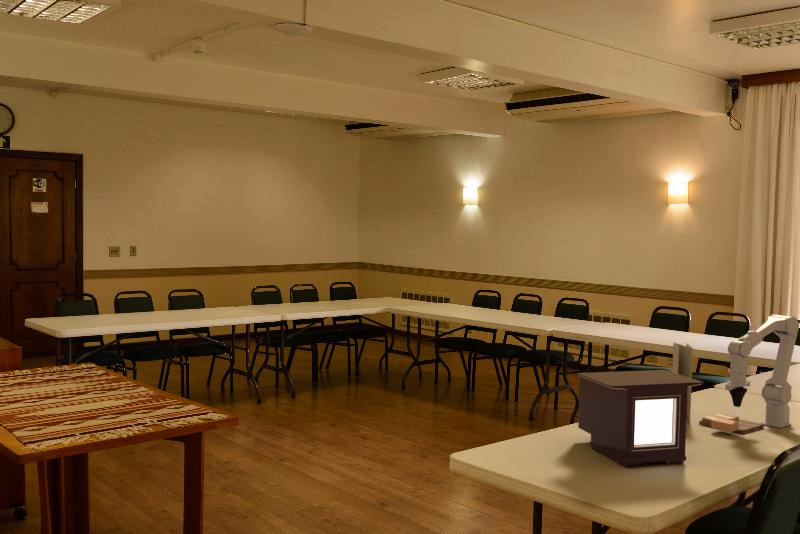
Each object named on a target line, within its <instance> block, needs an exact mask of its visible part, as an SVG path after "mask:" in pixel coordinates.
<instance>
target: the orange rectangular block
mask: <svg viewBox="0 0 800 534" xmlns="http://www.w3.org/2000/svg"><path fill="white" fill-rule="evenodd" d="M710 428H711V429H715V430H719V431H724V432H727V433H734V432H733V431H737V430H739V422H736V421H732V420H727V419H723V418H718V419H714V420H712V421H711V427H710Z"/></svg>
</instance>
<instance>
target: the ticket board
mask: <svg viewBox="0 0 800 534" xmlns="http://www.w3.org/2000/svg"><path fill="white" fill-rule="evenodd" d="M718 418H723V419H727V420H732V421H736V422H739V430H737V431H733V432H732V433H735V434H740V435H746V434H748V433H752V432H755V431H758V430H762V429H764V427H765V425H764V424H761V423H759V422H754V421H750V420H746V419H745V420H744V419H740V417H739V416H737V415H733V414H727V413H723V412H720V413H715V414H712V415H707V416H704V417H702V418H701V419H700V420H699V421H698V424H699V425H700V424H701V426H704V425H705V427H708V426H709V428H711V421H712V420H714V419H718Z"/></svg>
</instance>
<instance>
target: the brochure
mask: <svg viewBox="0 0 800 534" xmlns="http://www.w3.org/2000/svg"><path fill="white" fill-rule="evenodd" d="M672 350H673V352H672V371H671V372H673V373H676V374H679V375H682V376H686V377H689V378H692V377H693V356H694V353H693V352H694V348H693V347H692V346H691V345H690V344H689V343H688V342H686V345H683V344H680V343H677V342H673V346H672ZM692 379H693V378H692ZM691 406H692V386H690V387H688V389H687V417H686V420H687V421H686V422H688V421H689V422H688V423H690V422H691V412H692V411H691V410H692V409H691Z"/></svg>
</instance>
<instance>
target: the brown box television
mask: <svg viewBox="0 0 800 534" xmlns="http://www.w3.org/2000/svg"><path fill="white" fill-rule="evenodd" d="M576 375H577V376H578V377H579V385H578V387H579V389H578V390H579V391H578V422H577V424H578V426H577V427H578V429H580V430H581V431H584V432H586V433H588V434H589V435H590V441H589V445H590V447H591V450H593V449H594V450H593V451H595V452H597V453H599V454H601V455H602V456H604V457H606V458H607V459H609V460H611V461H614V462H615V463H617V464H619V466H620V465H621V466H622V467H624V468H626V469H632V468H633V469H634V468H635V469H636V468H642V464H649V463H664V464H667V465H668V466H673V465H684V462H685V461H687V456H686V446H687V445H686V443H687V442H686V440H687V439H686V438H687V421H686V417H687V389H688V387H690V386H691V387H695V386H696V387H697V386H701V385H703V384H704V383H705V382H704V381H701V380H698V379H695V378H689V377H686V376H682V375H679V374H676V373H673V372H672V371H669V370H666V369H656V370H653V369H651V370H627V371H625V370H624V371H601V372H600V371H597V372H577V373H576Z"/></svg>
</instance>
